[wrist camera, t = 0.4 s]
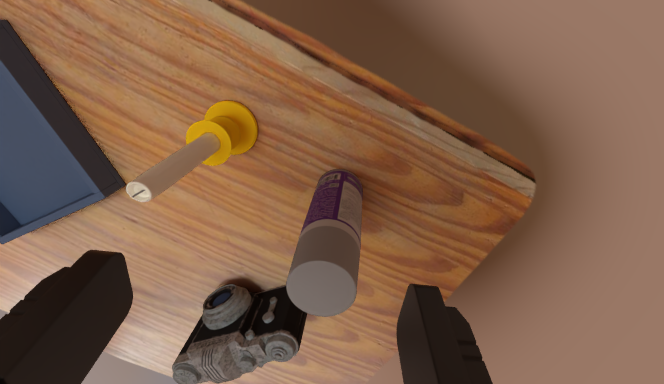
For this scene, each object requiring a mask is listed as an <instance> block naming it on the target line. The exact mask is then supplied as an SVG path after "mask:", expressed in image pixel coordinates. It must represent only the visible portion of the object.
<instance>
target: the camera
mask: <svg viewBox="0 0 664 384" xmlns="http://www.w3.org/2000/svg"><path fill="white" fill-rule="evenodd" d="M203 308H204V310H203V315H202V316H201V318H200V320H199V321H198V323H197V325H196V327H195V328H194V330H193V332H192V333H191V335H190V337H189V338H188V340H187V342H186V343H185V345H184V347H183V348H182V350H181V352H180V353H179V355H178V357H177V359H176V360H175V362H174V364H173V366H172V369H173V378H174V380H175V381H176V382H177V383H178V384H197V383H202V382H207V381H212V382H215V383H222V382H226V381H231V380H234V379H236V378H239V377H240V376H241V375H242V374H244V373H248V372H253V371H254V370H255V369H256V368H257V366H259V367H263V365H264V364H265V363H267V362H270V361H274V360H275V361H278V362H285V361H288V360H290V359H291V358H292V357H293V356H296V354H297V353H298V351H299V348H300V343H301V339H302V335H303V330H304V326H305V321H306V317H307V313H306V312H304V311H302V310H301V309H299V308H298V307H297V306H296V305H295V304H294V303H293V302H292V301H291V299H290V298H289V296H288V293H287V289H286V285H285V286H282V287H278V288H274V289H270V290H267V291H263V292H260V293H256V294H255V293H251V292H248V291H247V289H246V288H244V287H239V286H235V285H234V284H228V285H225V286H222V287H220V288H218V289H217V290H215V291H214V292H213V293H212V294H210V295H209V296H208V298H207V299H206V300H205V302H204V304H203Z"/></svg>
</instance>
